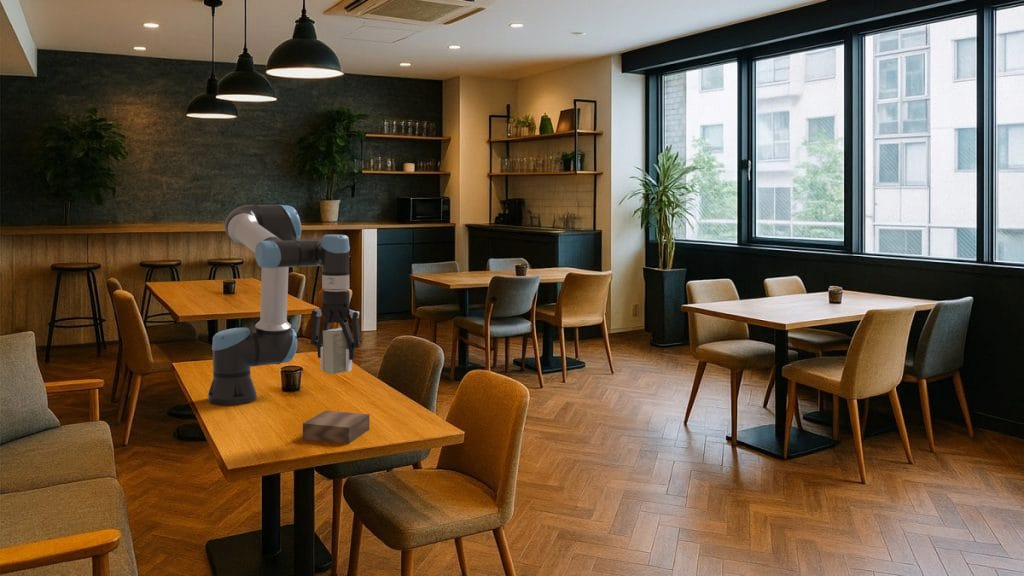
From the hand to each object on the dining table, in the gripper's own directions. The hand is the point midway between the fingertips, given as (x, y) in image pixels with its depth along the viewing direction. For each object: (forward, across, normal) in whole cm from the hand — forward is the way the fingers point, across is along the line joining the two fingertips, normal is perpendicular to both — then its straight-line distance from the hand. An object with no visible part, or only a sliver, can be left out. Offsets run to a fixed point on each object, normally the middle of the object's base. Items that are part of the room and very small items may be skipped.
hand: (336, 370), depth 228 cm
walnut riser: (+19, 0, 0) cm, 19 cm away
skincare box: (+1, 0, 0) cm, 1 cm away
